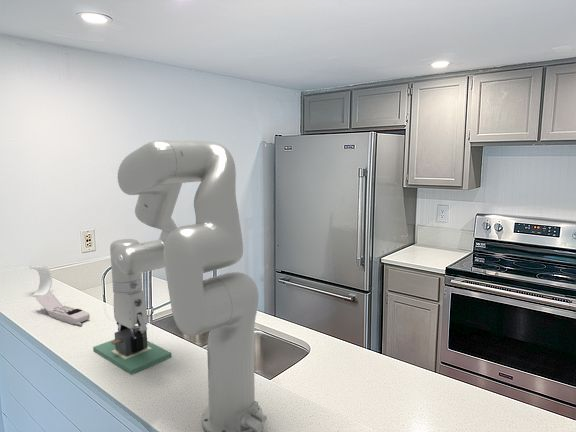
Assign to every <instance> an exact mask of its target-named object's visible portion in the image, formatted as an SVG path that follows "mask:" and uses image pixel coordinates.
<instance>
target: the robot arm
mask: <svg viewBox="0 0 576 432" xmlns="http://www.w3.org/2000/svg"><path fill="white" fill-rule="evenodd" d="M117 170H118V171H117V184H118V187H119V188H120V190H121V191H122V192H123V193H124V194H125V195H127V196H136V195H137V200H136V205H135V207H134V214H135V216H136V217H135V218H137V220H138V221H140V222H141V223H143V225H146V226H147V227H151V228H153V229H158V230H161V232H160V235H159V238H158V239H156V240H151V241H144V242H139V241H138V240H137V239H133V238H124V239H122V238H121V239H118V240H115V241H112V242H111V244H110V247H109V249H110V251H109V252H110V265H111V280H112V281H111V282H112V292H113V317H114V320H115V321H116V325H117V332H118V331H121V330H124V329H127V328H130V329H131V334H132V338H133V339H131V346H132V353H136V352H138V351H141V350H143V336H144V333H145V331H147V330H148V326H147V325H148V323H149V321H148V318H149V317H148V309H147V303H146V296H145V293H144V290H143V289H144V288H143V276H142V275H143V273H145V272H150V271H155V270H159V269H163V268H164V269H165V276H166V282H167V289H168V294H169V301H170V302H169V303H170V307H171V313H172V316H173V317H172V318H173V320H174V322H175V325H176V327H177V329H179V331H180V332H181V333H183V334H184V335H186V336H190V337H191V336H192V337H194V336H201V335H202V334H205V333H207V332H209V333H208V338H207V345H206V346H207V347H206V349H207V351H206V352H207V353H206V354H207V379H208V380H207V381H208V382H207V383H208V406H207V407H206V408H205V410H204V411H203V413H202V415H201V424H202V427H203V429H204V430H205V432H262V431H263V429H264V423H265V422H266V421H267V416H266V415H265V414H263V410H262V408H261V406H260V405H259V402H258V401H256V400H255V399H256V398H255V390H256V387H255V327H256V326H255V324H256V318H257V317H256V316H257V312H258V308H259V300H260V299H259V289H258V286H257V284H256V282H255V281H254V279H253V278H252V277H251V276H250V275H248V274H247V273H244V272H239V271H236V272H235V271H234V272H227V273H224V274H220V275H219V274H218V275H216V276H212V277H209V278H206V279H204V274H205V273H209V272H214V271H217V270H221V269H224V268H227V267H228V268H229V267H231V266H233V265H235V264H237V263H238V262H240V261H241V259H242V257H243V255H244V242H243V235H242V228H241V222H240V221H241V220H240V214H239V208H238V207H239V206H238V202H237V201H238V200H237V195H236V194H237V193H236V189H237V188H236V185H237V183H236V180H237V179H236V177H237V168H236V164H235V160H234V157H233V155H232V154H231V152H230V151H229V149H228V148H226V147H225V146H224V145H222V144H220V143H217V142H213V141H207V140H206V141H205V140H154V141H153V140H152V141H149V142H148V143H147V142H146V144H143V145H142V146H140V147H138V148H136V149H135V150H134V151H132V152H131V153H129V154H127V155H126V156H125V157H124V159H123V160H122V161H121V163H120V164H119V167H118V169H117ZM196 182H197V183H198V182H200V183H199V185H198V186H197V189H196V192H195V194H194V199H193V209H194V215H195V223H192V224H188V225H187V224H186V225H182V226H178V227H177V224H176V223H175V221H174V219H173V217H172V216H173V213H174V209H175V206H176V203H177V200H178V197H179V194H180V193H181V189H182V186H183V183H184V184H186V183H196ZM135 325H136V326H135ZM137 328H138V329H139V331H137V332H136V333H135V329H137Z"/></svg>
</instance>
